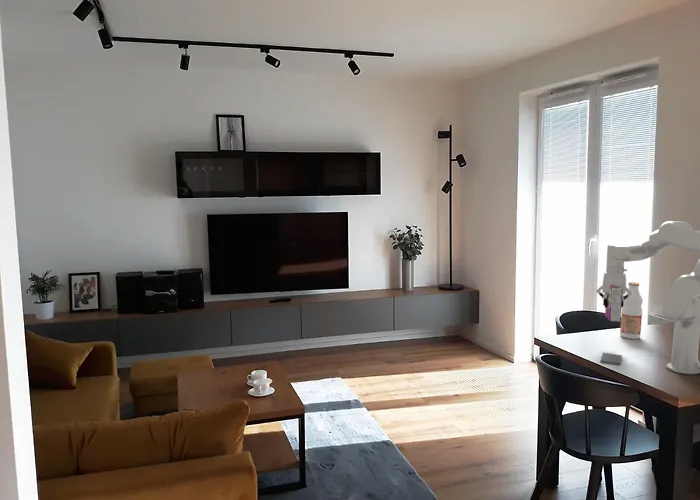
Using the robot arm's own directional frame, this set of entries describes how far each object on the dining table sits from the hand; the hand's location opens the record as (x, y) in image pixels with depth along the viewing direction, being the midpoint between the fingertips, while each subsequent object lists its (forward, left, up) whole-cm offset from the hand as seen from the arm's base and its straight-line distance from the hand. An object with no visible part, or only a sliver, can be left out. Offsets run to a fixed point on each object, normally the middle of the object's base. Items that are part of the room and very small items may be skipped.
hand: (613, 307), depth 276 cm
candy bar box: (0, 0, -6) cm, 6 cm away
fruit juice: (-8, -27, -20) cm, 35 cm away
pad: (-2, +21, -20) cm, 29 cm away
